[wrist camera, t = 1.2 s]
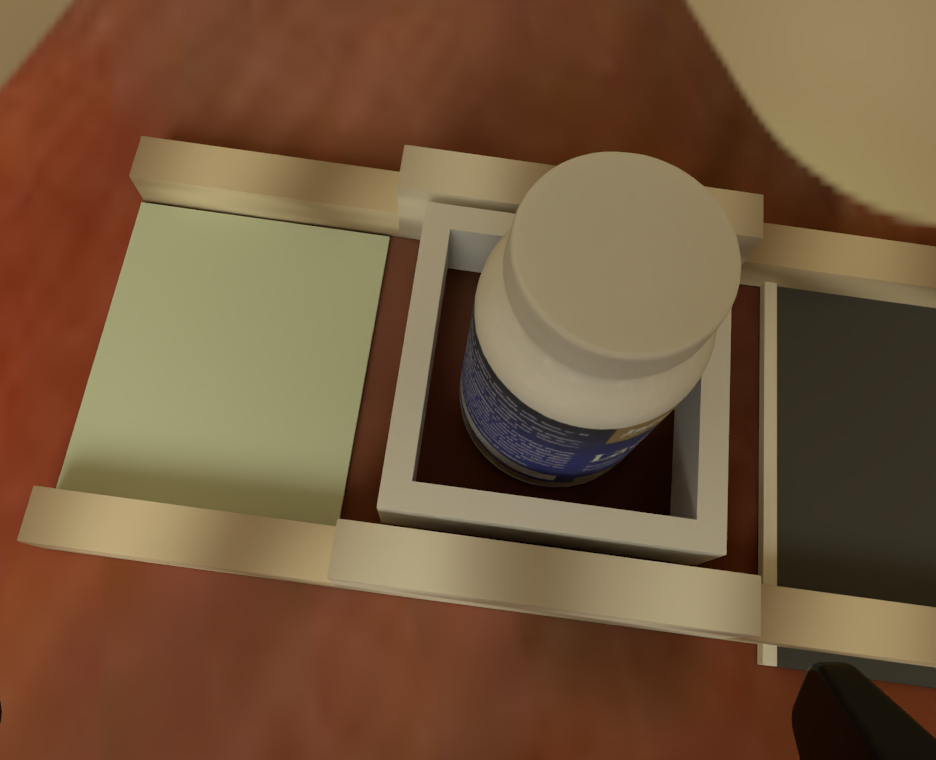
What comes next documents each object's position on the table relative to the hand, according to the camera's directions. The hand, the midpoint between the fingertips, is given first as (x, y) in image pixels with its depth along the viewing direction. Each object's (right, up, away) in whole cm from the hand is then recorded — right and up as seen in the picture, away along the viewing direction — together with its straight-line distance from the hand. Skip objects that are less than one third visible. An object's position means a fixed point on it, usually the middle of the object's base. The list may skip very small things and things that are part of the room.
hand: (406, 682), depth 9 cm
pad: (-7, +4, +16) cm, 18 cm away
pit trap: (+14, +1, +16) cm, 21 cm away
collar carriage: (+3, +3, +16) cm, 17 cm away
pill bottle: (+3, +3, +17) cm, 17 cm away
